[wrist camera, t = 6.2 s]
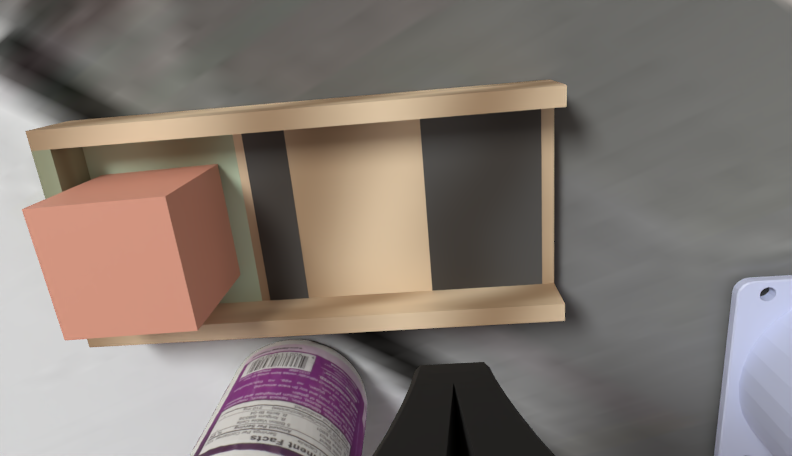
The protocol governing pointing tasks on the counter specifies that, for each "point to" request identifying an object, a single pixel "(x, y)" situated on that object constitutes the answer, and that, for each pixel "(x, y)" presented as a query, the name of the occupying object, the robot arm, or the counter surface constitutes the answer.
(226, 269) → the red block
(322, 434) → the pill bottle
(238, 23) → the counter surface
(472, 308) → the box
